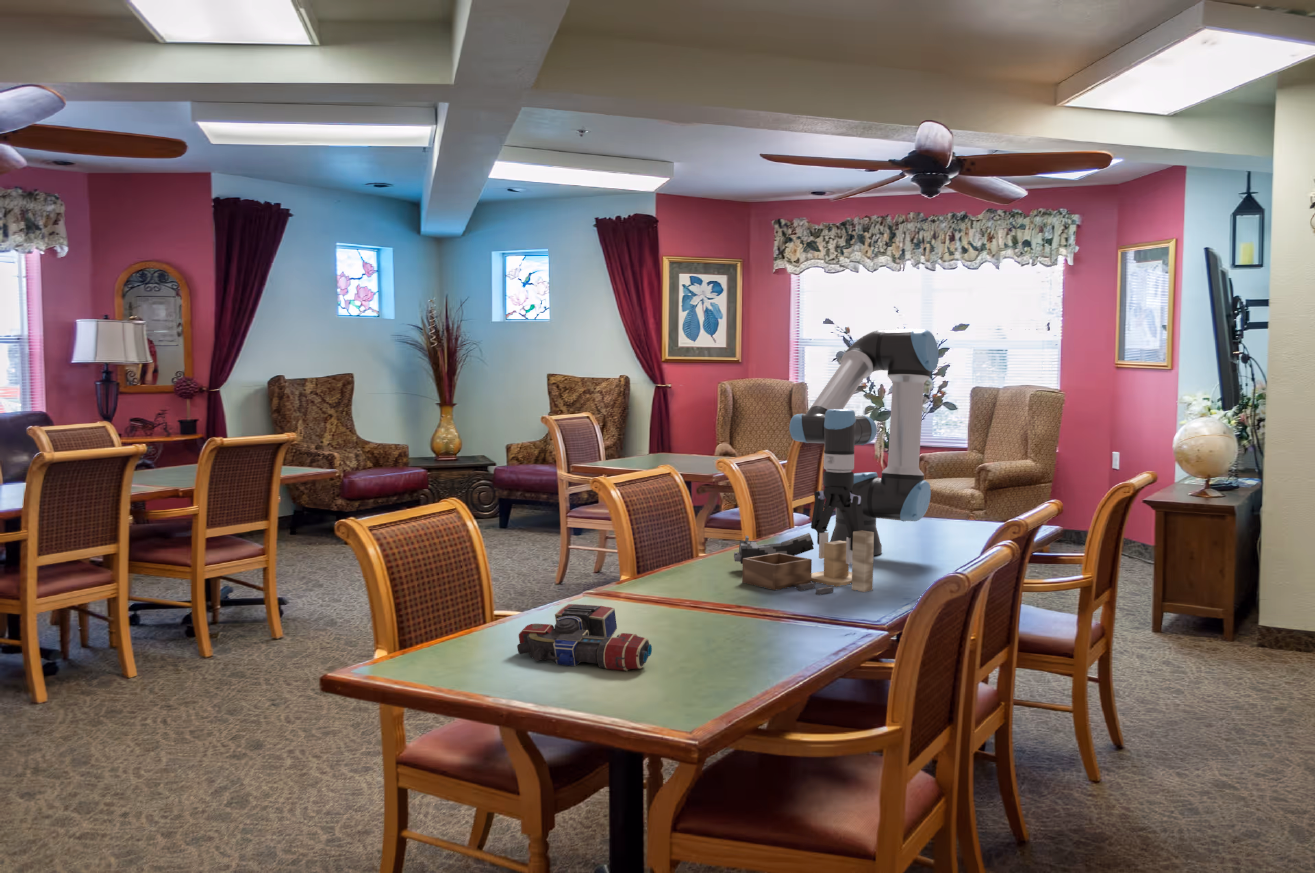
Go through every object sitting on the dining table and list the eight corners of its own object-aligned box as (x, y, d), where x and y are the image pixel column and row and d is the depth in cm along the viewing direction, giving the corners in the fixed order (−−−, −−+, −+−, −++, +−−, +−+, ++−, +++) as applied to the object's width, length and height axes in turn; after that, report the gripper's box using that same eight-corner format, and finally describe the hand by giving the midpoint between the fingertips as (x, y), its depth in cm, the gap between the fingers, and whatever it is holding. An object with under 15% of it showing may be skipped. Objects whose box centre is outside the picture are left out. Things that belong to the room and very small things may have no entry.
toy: (814, 574, 256) (815, 535, 255) (734, 572, 256) (735, 534, 256) (810, 568, 263) (811, 531, 262) (733, 567, 263) (733, 530, 263)
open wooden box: (778, 576, 253) (778, 552, 252) (811, 583, 244) (811, 559, 244) (742, 582, 244) (742, 558, 244) (775, 590, 236) (775, 565, 236)
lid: (835, 573, 259) (836, 536, 258) (872, 580, 250) (873, 542, 249) (799, 580, 250) (800, 541, 249) (836, 588, 241) (837, 548, 240)
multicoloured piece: (637, 650, 167) (673, 597, 185) (503, 640, 175) (550, 590, 193) (642, 691, 169) (676, 635, 187) (510, 679, 177) (555, 627, 195)
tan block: (860, 587, 240) (861, 530, 239) (872, 590, 237) (873, 532, 237) (851, 589, 238) (853, 531, 237) (863, 592, 235) (864, 533, 234)
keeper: (801, 585, 242) (801, 580, 242) (833, 592, 235) (833, 587, 235) (787, 587, 239) (787, 582, 239) (819, 594, 231) (819, 589, 231)
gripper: (797, 468, 254) (795, 556, 255) (862, 474, 238) (860, 568, 239) (816, 466, 259) (814, 552, 260) (882, 473, 243) (879, 565, 244)
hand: (836, 560), depth 250 cm, fingers open, 8 cm apart
